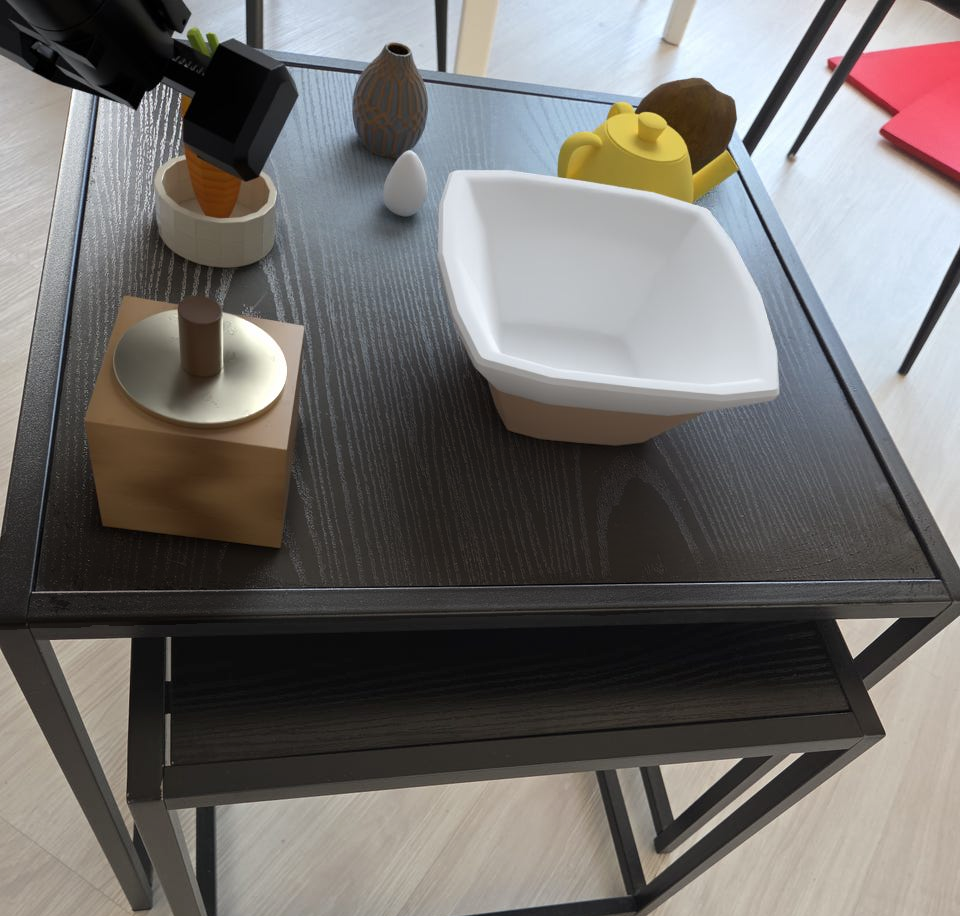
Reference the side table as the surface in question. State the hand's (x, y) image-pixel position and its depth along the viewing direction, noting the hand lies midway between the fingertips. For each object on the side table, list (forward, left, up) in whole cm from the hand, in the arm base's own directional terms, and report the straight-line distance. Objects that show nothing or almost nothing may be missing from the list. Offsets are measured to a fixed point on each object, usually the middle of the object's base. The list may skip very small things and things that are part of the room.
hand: (197, 130), depth 62 cm
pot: (0, +9, -13) cm, 16 cm away
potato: (+43, +34, -13) cm, 56 cm away
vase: (+13, +27, -13) cm, 32 cm away
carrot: (0, +9, -13) cm, 15 cm away
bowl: (+29, -3, -13) cm, 32 cm away
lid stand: (+3, -18, -13) cm, 22 cm away
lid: (+3, -18, -4) cm, 19 cm away
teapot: (+36, +19, -13) cm, 42 cm away
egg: (+15, +17, -13) cm, 26 cm away
